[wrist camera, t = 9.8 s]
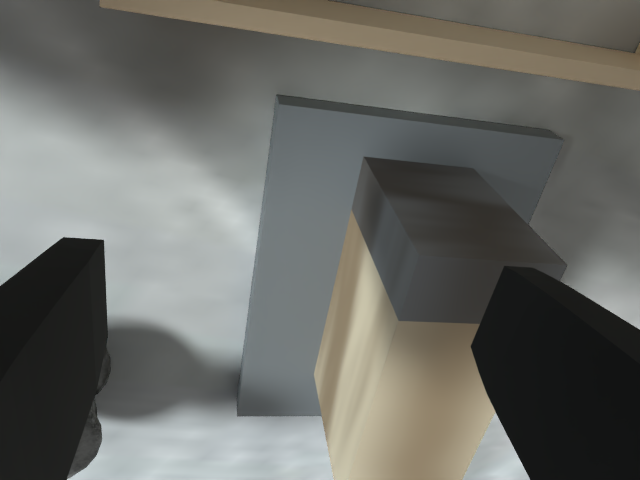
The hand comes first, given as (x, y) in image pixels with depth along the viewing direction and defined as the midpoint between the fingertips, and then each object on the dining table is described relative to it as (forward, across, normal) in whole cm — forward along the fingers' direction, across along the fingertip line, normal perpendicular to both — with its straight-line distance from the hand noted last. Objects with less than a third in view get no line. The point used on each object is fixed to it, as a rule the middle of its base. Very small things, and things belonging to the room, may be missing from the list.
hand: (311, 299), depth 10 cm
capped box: (+8, -5, +5) cm, 11 cm away
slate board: (+9, -5, +6) cm, 12 cm away
